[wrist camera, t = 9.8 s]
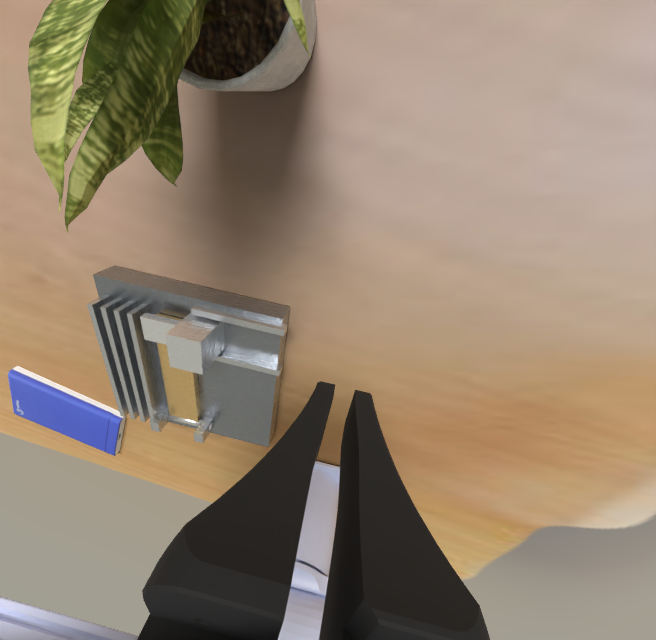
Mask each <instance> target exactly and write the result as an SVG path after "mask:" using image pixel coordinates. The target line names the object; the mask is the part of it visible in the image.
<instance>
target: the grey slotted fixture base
mask: <svg viewBox="0 0 656 640" xmlns="http://www.w3.org/2000/svg"><path fill="white" fill-rule="evenodd" d="M93 277H94V280H95V284H96V288H97V291H98V295H99V298H98V299H96V300H94V301H92V302H90V303H88V304H87V306H88V309H89V313H90V316H91V319H92V323H93V326H94V329H95V333H96V336H97V339H98V343H99V346H100V349H101V352H102V356H103V359H104V362H105V366H106V369H107V372H108V376H109V379H110V382H111V386H112V389H113V392H114V395H115V399H116V402H117V405H118V409H119V412H120V415H121V416H123V417H125V416H126V415H127V414H128V413H129V414H130V417H131V419H134V420H135V419H136V418H137V417H138V416H139V415H140V419H141V421H142V422H146V421H147V420H148V418H149V417H150V420H151V421H150V424H151V429H152V430H154V431H158V432H160V431H161V430H162V429H163V428H164V426H165V425H166V424H167V423H168V422H172V423H175V424H179V425H183V426H187V427H191V428H195V429H196V431H195V432H194V438H195V441H196V442H200V443H204V441H205V439H206V438H207V436H208V434H209V433H210V432H211V433H215V434H219V435H223V436H227V437H230V438H234V439H238V440H242V441H246V442H250V443H254V444H258V445H262V446H266V447H269V444H270V442H271V439H272V436H273V434H274V431H275V424H276V416H277V408H278V400H279V392H280V384H281V376H282V368H283V360H284V352H285V343H286V335H287V327H288V319H289V311H290V306H285V305H281V304H277V303H272V302H268V301H264V300H260V299H255V298H251V297H247V296H242V295H238V294H234V293H230V292H225V291H221V290H217V289H212V288H208V287H204V286H200V285H195V284H191V283H187V282H182V281H178V280H174V279H170V278H165V277H161V276H157V275H152V274H148V273H144V272H140V271H135V270H131V269H127V268H123V267H118V266H113V267H110V268H108V269H105V270H103V271H101V272H98V273H96V274H93ZM145 313H149V314H154V315H156V314H157V313H159V314H163V315H167V316H171V317H176V318H180V319H184V318H185V317H186V316H187V315H188V314H190V313H192V315H196V316H200V317H205V318H209V319H213V320H217V321H221V322H224V349H223V350H222V351H221V353H220V354H219V355H218V356H217V358H216V359H215V360H214V361H213V363H212V364H211V365H210V366H209V368H208V369H207V370H206V371H205V373H204V374H203V375H202V374H198V384H199V395H200V406H201V419H200V420H199V422H196V421H192V420H188V419H184V418H180V417H176V416H172V415H170V413H169V408H168V402H167V396H166V391H165V385H164V379H163V374H162V368H161V362H160V357H159V351H158V346H157V342H153V341H149V340H145V339H144V335H143V329H142V324H141V319H140V316H142V315H143V314H145Z"/></svg>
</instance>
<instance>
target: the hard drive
mask: <svg viewBox="0 0 656 640" xmlns="http://www.w3.org/2000/svg"><path fill="white" fill-rule="evenodd" d="M8 379H9V386H10V391H11V397H12V404H13V410H14V414H16V415H18V416H21V417H23V418H25V419H28V420H30V421H33V422H35V423H38V424H40V425H42V426H45V427H47V428H49V429H52V430H54V431H57V432H59V433H61V434H64V435H66V436H68V437H71V438H73V439H76V440H78V441H80V442H83V443H85V444H87V445H90V446H92V447H95V448H97V449H99V450H102V451H104V452H107V453H109V454H111V455H114V456H115V455H116V454H117V453H118V452H119V451H120V446H121V441H122V435H123V429H124V424H125V418H126V416H125V417H123V416H121V415H120V412H119V411H117V410H115V409H113V408H110V407H108V406H106V405H104V404H101V403H99V402H97V401H95V400H93V399H90V398H88V397H86V396H84V395H81V394H79V393H77V392H75V391H73V390H70V389H68V388H66V387H64V386H61V385H59V384H57V383H55V382H52V381H50V380H48V379H46V378H44V377H41V376H39V375H37V374H35V373H32V372H30V371H28V370H26V369H23V368H21V367H19V366H16V367H15V368H13V369H11V370H10V371H9V373H8Z"/></svg>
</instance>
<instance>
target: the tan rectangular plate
mask: <svg viewBox="0 0 656 640" xmlns="http://www.w3.org/2000/svg"><path fill="white" fill-rule="evenodd" d="M156 315H158V316H162V317H166V318H170V319H174V320H179V321H181V320H182V319H180V318H176V317H171V316H167V315H163V314H159V313H157V314H156ZM157 346H158V351H159V357H160V362H161V368H162V374H163V379H164V385H165V391H166V396H167V402H168V408H169V413H170V415H172V416H176V417H180V418H184V419H188V420H192V421H196V422H199V420H200V419H201V406H200V395H199V384H198V373H194V372H190V371H186V370H181V369H177V368H173V367H170V364H169V357H168V350H167V345H165V344H161V343H157Z"/></svg>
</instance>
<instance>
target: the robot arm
mask: <svg viewBox="0 0 656 640" xmlns="http://www.w3.org/2000/svg"><path fill="white" fill-rule="evenodd" d="M334 389H335V385H334V384H329V383H325V382H321V381H320V382H318V383H317V386H316V388H315V390H314V392H313V394H312V396H311V398H310V399H309V401H308V403H307V404H306V406H305V407H304V409H303V410H302V412H301V413H300V415H299V416H298V418H297V419H296V420H295V422H294V423H293V424H292V425H291V427H290V428H289V429H288V430H287V432H286V433H285V434H284V435H283V437H282V438H281V439H280V440H279V441H278V443H277V444H276V445H275V446H274V447H273V448H272V449H271V450H270V451H269V452H268V453H267V455H266V456H265V457H264V458H263V459H262V460H261V461H260V462H259V463H258V464H257V465H256V466H255V467H254V468H253V469H252V470H250V471H249V472H248V473H247V474H246V475H245V476H244V477H243V478H242V479H241V480H240V481H238V482H237V483H236V484H235V485H234V486H233V487H232V488H230V489H229V490H228V491H227V492H226V493H225V494H223V495H222V496H221V497H220V498H219V499H217V500H216V501H215V502H214V503H213V504H211V505H210V506H209V507H207V508H206V509H205V510H203V511H202V512H201V513H200V514H198V515H197V516H196V517H194V518H193V519H192V520H191V521H189V522H188V523H187V524H186V525H185V526H184V527H183V528H182V529H181V531H180V532H179V533H178V534H177V536H176V537H175V538H174V539H173V541H172V542H171V544H170V545H169V546H168V548H167V549H166V551H165V552H164V554H163V555H162V557H161V558H160V560H159V561H158V563H157V564H156V566H155V568H154V570H153V572H152V574H151V576H150V578H149V579H148V581H147V583H146V585H145V587H144V589H143V599H144V601H145V604H146V606H147V608H148V610H149V612H150V615H149V617H148V619H147V621H146V623H145V625H144V627H143V629H142V631H141V633H140V635H139V636H136V635H133V634H129V633H126V632H122V631H119V630H115V629H112V628H108V627H105V626H101V625H98V624H95V623H91V622H88V621H84V620H81V619H77V618H74V617H70V616H66V615H63V614H60V613H56V612H53V611H49V610H46V609H42V608H39V607H35V606H32V605H29V604H25V603H21V602H18V601H15V600H11V599H8V598H4V597H1V596H0V640H490V638H489V634H488V631H487V628H486V625H485V621H484V618H483V615H482V612H481V609H480V606H479V604H478V603H477V602H476V600H475V599H474V597H473V596H472V595H471V593H470V592H469V590H468V589H467V588H466V586H465V585H464V583H463V582H462V581H461V579H460V578H459V576H458V575H457V573H456V572H455V570H454V569H453V568H452V566H451V565H450V563H449V562H448V560H447V558H446V557H445V555H444V554H443V552H442V551H441V549H440V548H439V546H438V545H437V543H436V541H435V540H434V538H433V536H432V535H431V533H430V531H429V530H428V528H427V526H426V525H425V523H424V521H423V520H422V518H421V516H420V515H419V513H418V511H417V509H416V507H415V506H414V504H413V502H412V500H411V498H410V496H409V494H408V492H407V490H406V488H405V486H404V484H403V482H402V480H401V478H400V476H399V474H398V472H397V469H396V467H395V465H394V462H393V460H392V458H391V455H390V453H389V450H388V448H387V445H386V442H385V439H384V437H383V434H382V431H381V428H380V425H379V422H378V418H377V415H376V411H375V408H374V403H373V399H372V395H371V394H370V393H366V392H362V391H358V390H355V393H354V396H353V399H352V402H351V406H350V409H349V412H348V415H347V418H346V421H345V426H344V432H343V439H342V445H341V460H340V467H338V466H334V465H330V464H326V463H322V462H318V461H316V458H317V455H318V452H319V448H320V445H321V442H322V438H323V434H324V430H325V427H326V423H327V419H328V415H329V412H330V408H331V404H332V400H333V395H334ZM337 508H338V511H337ZM336 517H337V520H336ZM335 526H336V528H335ZM334 534H335V535H334Z"/></svg>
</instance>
